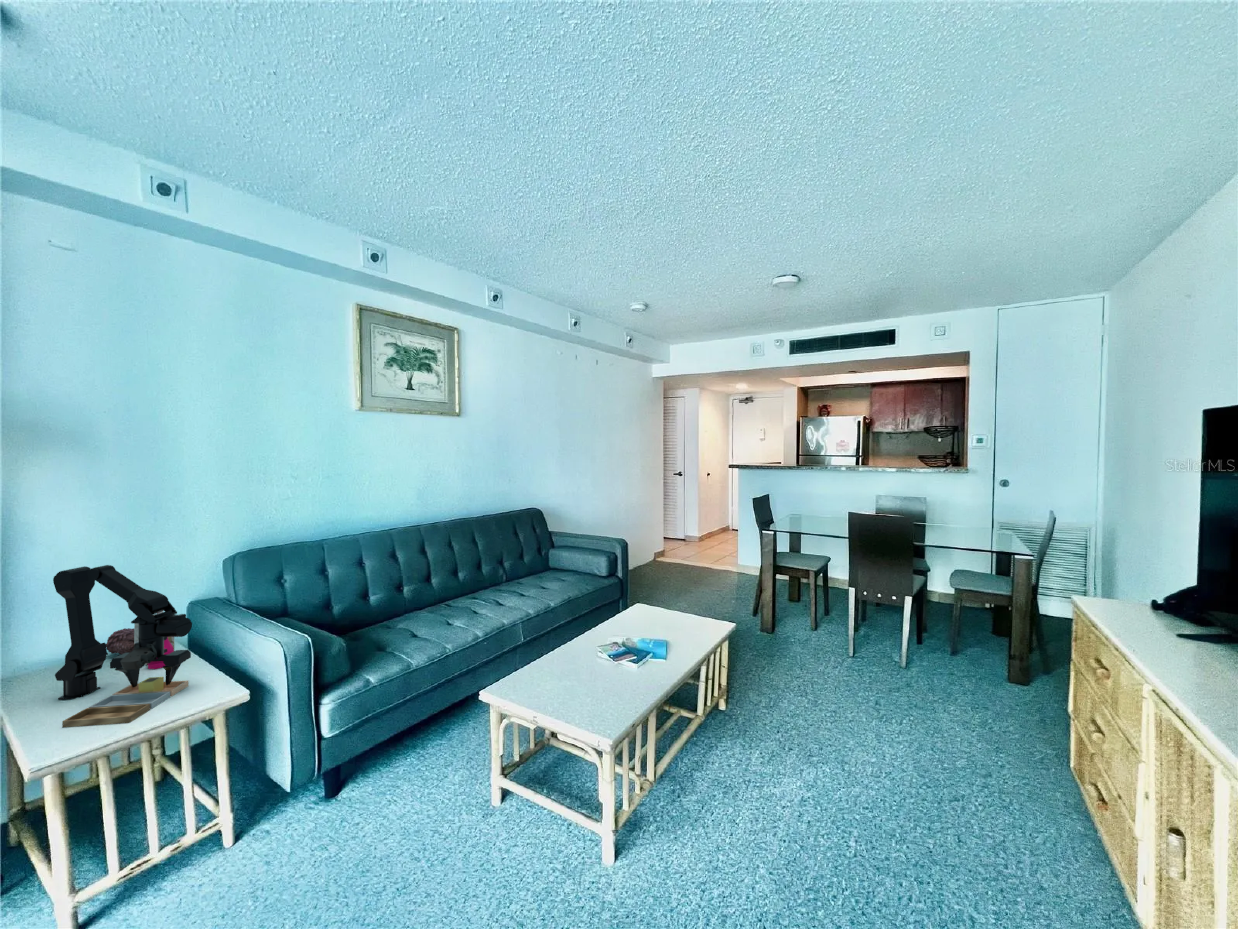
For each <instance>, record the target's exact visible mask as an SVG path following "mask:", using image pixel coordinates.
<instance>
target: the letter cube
mask: <svg viewBox="0 0 1238 929" xmlns="http://www.w3.org/2000/svg"><path fill="white" fill-rule="evenodd" d="M164 677H165V676H154V677H153V676H152V677H148V678H145V679H144V680H143V681H141V682H138V683H139V692H149V691H161V690H163V689H164V682H165V681H164V680H165V678H164Z"/></svg>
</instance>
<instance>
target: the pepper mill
mask: <svg viewBox="0 0 1238 929" xmlns="http://www.w3.org/2000/svg"><path fill="white" fill-rule="evenodd" d="M163 612H164V611H162V612H160V613H163ZM160 613H157V614H160ZM164 649H167V652H166V653H164V655H165V654H170V653H172V652H174V651H175V647H174V648H173V646H172V644H171V643H170V641H169V640H168V637H167V639H166V640H164ZM163 666H165V664H164V663H163V661H155V662H150V663H148V665H147V669H149V670H157V669H164V668H163Z"/></svg>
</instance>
